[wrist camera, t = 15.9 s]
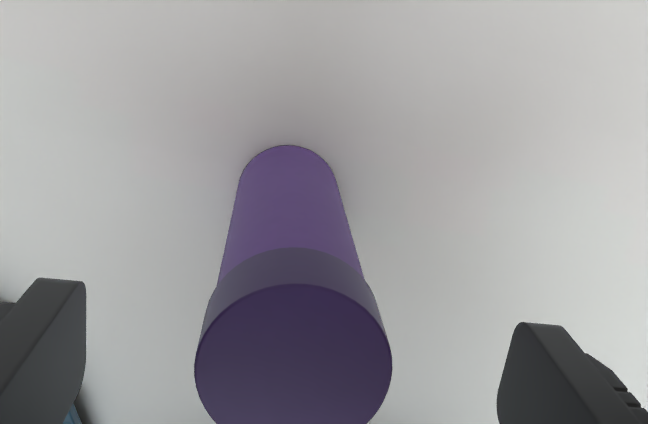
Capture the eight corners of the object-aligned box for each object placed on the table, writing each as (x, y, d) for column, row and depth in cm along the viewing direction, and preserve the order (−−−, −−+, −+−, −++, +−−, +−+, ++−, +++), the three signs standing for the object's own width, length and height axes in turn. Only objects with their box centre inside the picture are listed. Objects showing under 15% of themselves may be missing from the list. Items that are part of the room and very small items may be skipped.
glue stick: (230, 236, 20) (188, 448, 11) (239, 135, 19) (200, 275, 10) (332, 246, 21) (376, 459, 11) (347, 148, 20) (408, 294, 10)
